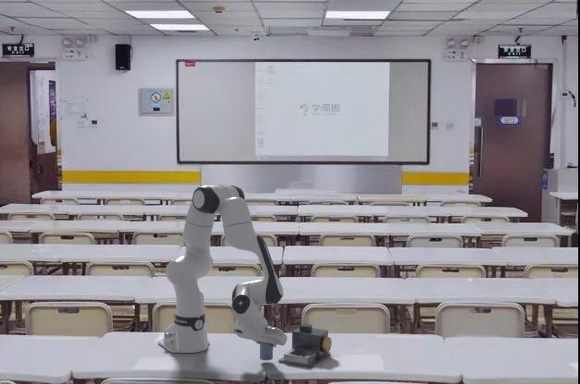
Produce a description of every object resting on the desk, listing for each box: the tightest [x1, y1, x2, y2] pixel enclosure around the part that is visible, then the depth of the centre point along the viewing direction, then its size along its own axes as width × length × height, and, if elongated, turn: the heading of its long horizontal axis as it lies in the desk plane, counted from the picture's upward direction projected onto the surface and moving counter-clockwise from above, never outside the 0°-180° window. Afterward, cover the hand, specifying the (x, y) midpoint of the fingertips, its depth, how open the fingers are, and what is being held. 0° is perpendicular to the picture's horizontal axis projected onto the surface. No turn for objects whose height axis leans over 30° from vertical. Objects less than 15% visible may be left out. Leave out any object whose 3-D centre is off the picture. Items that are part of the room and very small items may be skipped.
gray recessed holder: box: [278, 323, 332, 368], centre depth 293 cm, size 15×18×12 cm
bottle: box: [259, 341, 274, 361], centre depth 287 cm, size 5×5×12 cm
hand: (267, 344), depth 287 cm, fingers closed on bottle, 5 cm apart
